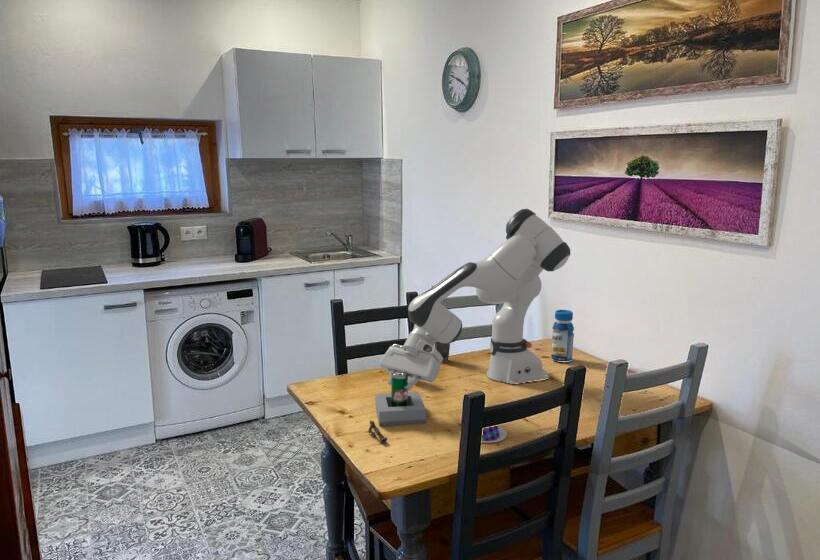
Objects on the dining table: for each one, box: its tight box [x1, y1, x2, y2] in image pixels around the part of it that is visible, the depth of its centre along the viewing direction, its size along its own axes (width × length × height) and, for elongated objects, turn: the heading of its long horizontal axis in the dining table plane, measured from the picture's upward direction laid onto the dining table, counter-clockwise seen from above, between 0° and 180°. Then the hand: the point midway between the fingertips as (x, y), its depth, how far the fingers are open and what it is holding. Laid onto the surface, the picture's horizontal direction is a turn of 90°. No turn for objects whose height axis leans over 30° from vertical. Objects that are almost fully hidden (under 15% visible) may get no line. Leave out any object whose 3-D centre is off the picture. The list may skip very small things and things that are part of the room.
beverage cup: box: [434, 342, 451, 364], centre depth 236 cm, size 7×7×20 cm
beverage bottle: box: [550, 309, 575, 361], centre depth 237 cm, size 8×8×20 cm
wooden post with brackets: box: [367, 419, 388, 444], centre depth 172 cm, size 2×8×4 cm, turn 37°
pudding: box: [481, 425, 508, 444], centre depth 173 cm, size 12×12×5 cm
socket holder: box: [374, 391, 427, 427], centre depth 187 cm, size 14×14×4 cm
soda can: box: [390, 371, 409, 407], centre depth 186 cm, size 5×5×12 cm
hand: (398, 387), depth 185 cm, fingers closed on soda can, 5 cm apart
